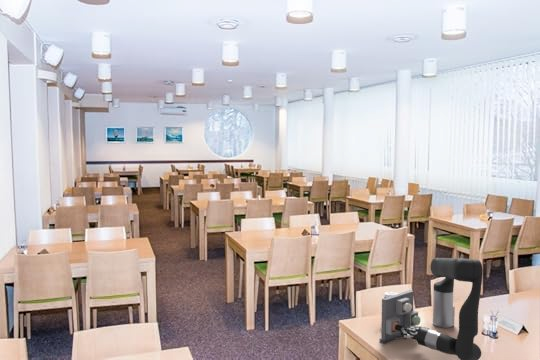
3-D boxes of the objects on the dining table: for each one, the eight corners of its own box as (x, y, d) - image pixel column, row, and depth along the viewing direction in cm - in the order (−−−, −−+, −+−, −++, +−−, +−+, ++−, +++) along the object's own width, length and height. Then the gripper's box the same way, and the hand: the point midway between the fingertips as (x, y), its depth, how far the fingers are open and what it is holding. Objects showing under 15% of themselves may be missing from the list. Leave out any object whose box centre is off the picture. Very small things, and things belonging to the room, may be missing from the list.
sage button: (420, 324, 223) (420, 315, 222) (415, 326, 220) (415, 317, 220) (415, 322, 224) (415, 314, 224) (410, 324, 222) (410, 316, 222)
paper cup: (399, 324, 239) (399, 296, 238) (383, 322, 241) (384, 295, 240) (398, 318, 247) (398, 291, 246) (383, 317, 248) (383, 290, 247)
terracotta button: (398, 330, 215) (398, 321, 215) (393, 332, 213) (393, 323, 212) (394, 328, 217) (394, 319, 217) (388, 330, 215) (388, 321, 214)
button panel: (418, 334, 225) (419, 292, 224) (390, 346, 212) (391, 301, 211) (407, 330, 230) (408, 289, 229) (379, 342, 217) (380, 298, 216)
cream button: (411, 311, 218) (411, 302, 217) (406, 313, 215) (406, 304, 215) (407, 310, 220) (407, 301, 219) (401, 311, 217) (401, 303, 217)
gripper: (439, 326, 204) (405, 315, 218) (421, 333, 196) (386, 321, 209) (439, 343, 205) (404, 331, 218) (421, 351, 196) (386, 338, 210)
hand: (396, 326), depth 214 cm, fingers closed
